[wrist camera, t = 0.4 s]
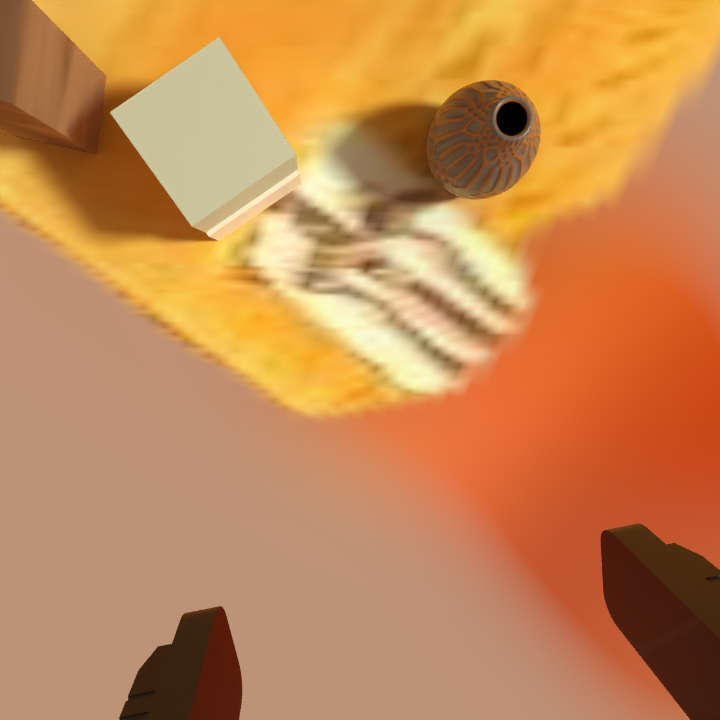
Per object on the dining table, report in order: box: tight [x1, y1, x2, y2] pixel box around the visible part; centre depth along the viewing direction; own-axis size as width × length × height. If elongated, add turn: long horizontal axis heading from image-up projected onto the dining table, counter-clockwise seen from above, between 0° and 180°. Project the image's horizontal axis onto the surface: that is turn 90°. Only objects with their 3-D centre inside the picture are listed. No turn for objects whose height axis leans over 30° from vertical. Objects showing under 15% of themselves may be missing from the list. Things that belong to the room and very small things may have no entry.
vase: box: [426, 80, 540, 199], centre depth 32 cm, size 7×7×9 cm
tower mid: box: [110, 37, 298, 233], centre depth 30 cm, size 7×7×4 cm
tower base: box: [206, 170, 301, 241], centre depth 34 cm, size 7×7×4 cm
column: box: [0, 0, 106, 154], centre depth 29 cm, size 5×5×10 cm
